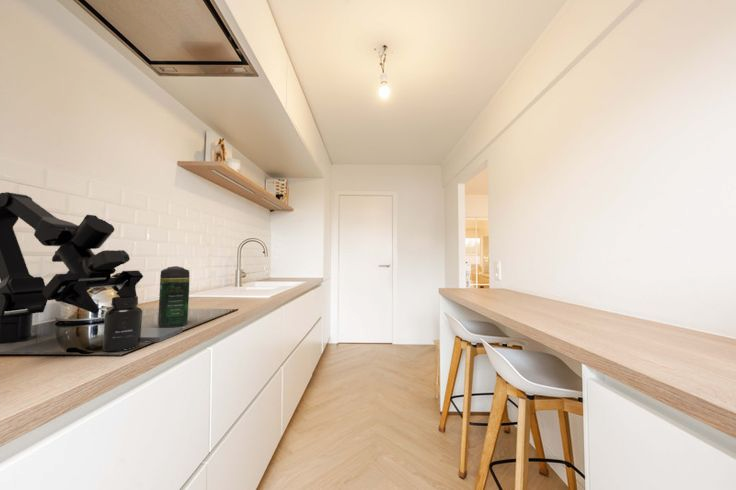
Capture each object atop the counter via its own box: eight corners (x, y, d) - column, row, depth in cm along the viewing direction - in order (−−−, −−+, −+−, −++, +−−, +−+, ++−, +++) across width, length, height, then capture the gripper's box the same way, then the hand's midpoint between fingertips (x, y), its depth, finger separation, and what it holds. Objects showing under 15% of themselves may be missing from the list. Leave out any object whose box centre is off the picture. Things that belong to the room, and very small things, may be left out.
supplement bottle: (118, 353, 65) (121, 299, 65) (94, 351, 66) (97, 298, 66) (147, 344, 71) (149, 295, 72) (125, 342, 73) (127, 294, 73)
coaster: (146, 332, 83) (146, 327, 83) (182, 331, 83) (182, 327, 83) (118, 342, 73) (118, 337, 73) (159, 342, 73) (159, 337, 73)
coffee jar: (189, 325, 91) (191, 266, 91) (158, 329, 86) (160, 266, 87) (186, 320, 98) (188, 265, 99) (157, 323, 94) (160, 265, 94)
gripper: (55, 236, 62) (96, 289, 59) (138, 241, 80) (172, 281, 78) (24, 272, 63) (63, 326, 60) (113, 269, 81) (146, 310, 79)
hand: (118, 308), depth 69 cm, fingers open, 9 cm apart
